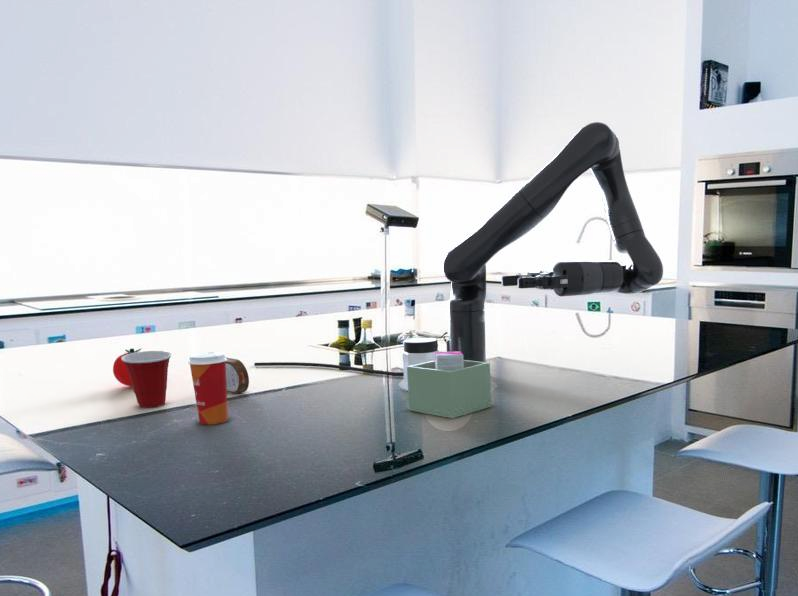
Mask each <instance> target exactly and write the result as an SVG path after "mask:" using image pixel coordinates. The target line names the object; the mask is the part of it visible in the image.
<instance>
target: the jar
mask: <svg viewBox="0 0 798 596" xmlns="http://www.w3.org/2000/svg"><path fill="white" fill-rule="evenodd" d="M402 344H403V350H402V370H403V371H402V373H404V376H403V389H404V390H405V391H407V392H408V379H407V366H412V365H416V364H421V363H426V362H430V361H435V352H440V351H439V350H438V349H439V343H438V338H433V337H414V338H408V339H407V338H406V339H404V340H403V341H402Z"/></svg>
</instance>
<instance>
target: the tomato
mask: <svg viewBox="0 0 798 596" xmlns="http://www.w3.org/2000/svg"><path fill="white" fill-rule="evenodd" d="M142 349H143V348H142V347H141V348H138V349H136V350H135V348H129V349H124V350H125V351H124V352H123V354H119V356H117V358H116V359H115V360H114V362H113V365H112V366H113V367H112V373H113V376H114V377H115V379H116V380H117V381H118V382H119V383H120V384H122V385H124V386H127V387H132V384H131V380H130V377H129V374H128V371H127V369H126V366H125V364H124V362H123V361H122V360H121V358H122V356H125V355H127V354H131V353H136V352H141V350H142Z"/></svg>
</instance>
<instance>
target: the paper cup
mask: <svg viewBox="0 0 798 596" xmlns="http://www.w3.org/2000/svg"><path fill="white" fill-rule="evenodd" d="M225 357H226V355H225V353H224V352H218V351H216V352H200V353H195V354H191V355H190V356H189V360H188V362H187V364H189V368H190V374H191V379H192V385H193V392H194V397H195V398H194V399H195V402H196V409H197V415H198V420H199V424H202V425H217V424H218V425H219V424H222V423H225V422H227V421H228V417H229V416H228V415H229V414H228V413H229V411H228V392H227V382H226V361H227V358H228V357H226V358H225Z"/></svg>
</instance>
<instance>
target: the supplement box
mask: <svg viewBox="0 0 798 596" xmlns="http://www.w3.org/2000/svg"><path fill="white" fill-rule="evenodd" d="M462 368H464V365H463V354H462V353H461V351H453V352H447V351H439V352H435V369H436V370H444V371H454V370H458V369H462Z"/></svg>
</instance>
